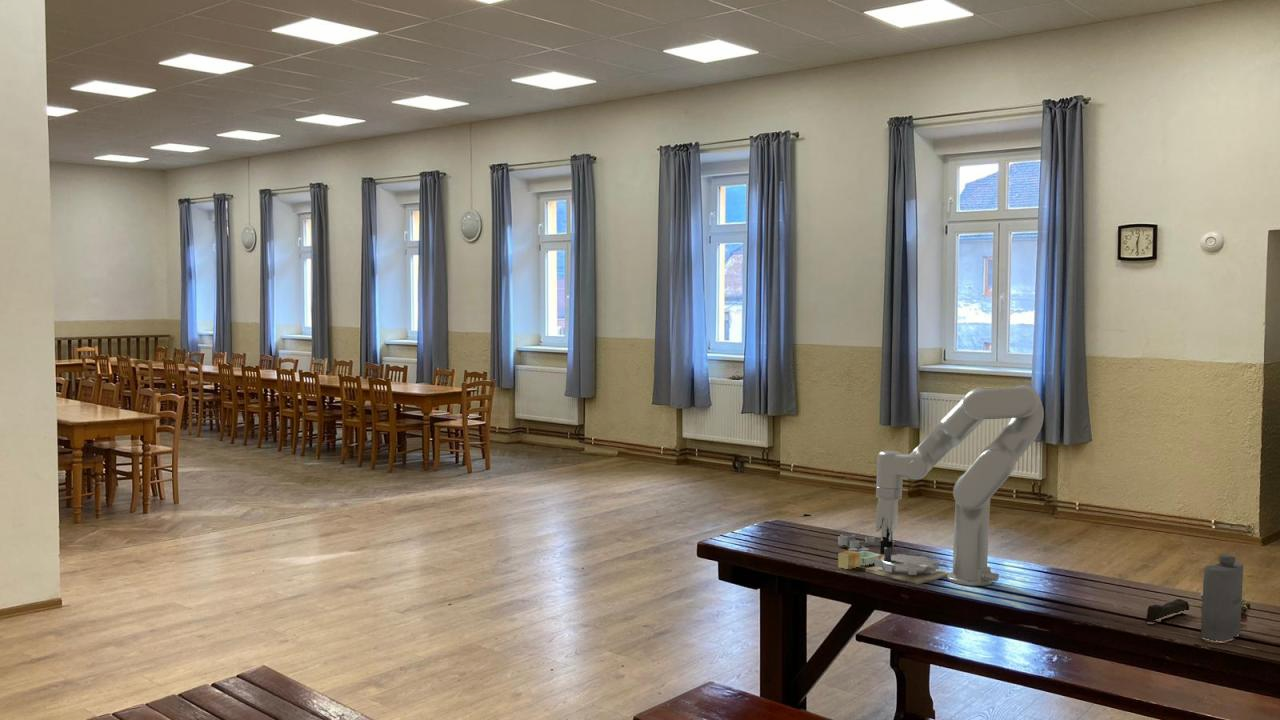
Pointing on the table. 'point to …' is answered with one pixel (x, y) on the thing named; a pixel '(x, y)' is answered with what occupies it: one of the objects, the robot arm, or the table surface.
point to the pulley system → (857, 542)
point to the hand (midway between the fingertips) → (886, 554)
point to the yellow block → (848, 559)
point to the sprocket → (905, 563)
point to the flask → (1222, 599)
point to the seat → (868, 557)
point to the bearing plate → (906, 577)
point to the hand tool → (1166, 609)
